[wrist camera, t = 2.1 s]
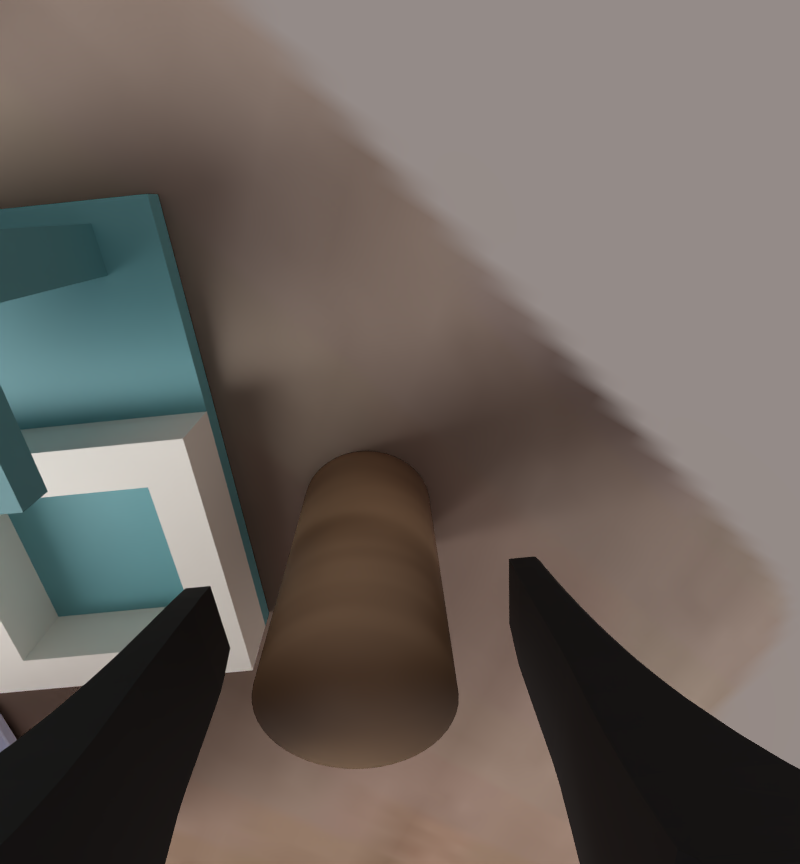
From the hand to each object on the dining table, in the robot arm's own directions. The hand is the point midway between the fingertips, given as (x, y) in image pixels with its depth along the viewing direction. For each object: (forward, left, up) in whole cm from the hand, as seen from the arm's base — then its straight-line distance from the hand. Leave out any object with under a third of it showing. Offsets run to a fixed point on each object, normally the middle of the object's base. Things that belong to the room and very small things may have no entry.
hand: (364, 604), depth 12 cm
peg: (0, 0, -4) cm, 4 cm away
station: (+3, +8, -4) cm, 10 cm away
